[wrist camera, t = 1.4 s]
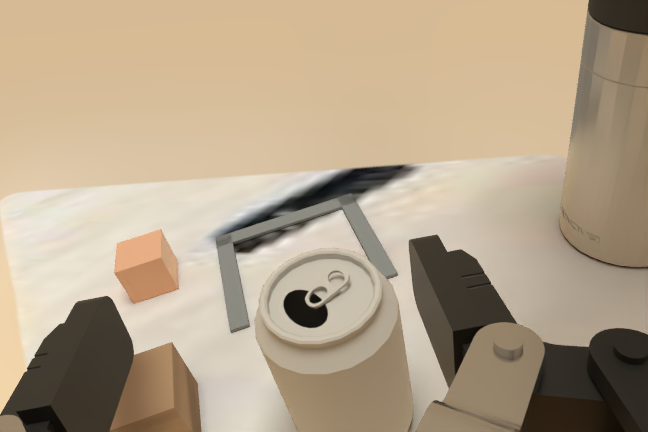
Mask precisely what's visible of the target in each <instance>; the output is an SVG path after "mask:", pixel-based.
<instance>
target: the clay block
mask: <svg viewBox="0 0 648 432" xmlns="http://www.w3.org/2000/svg"><path fill="white" fill-rule="evenodd" d="M114 273H115V275H116V276H117V278H118V279H119V281H120V283H121V284H122V286H123V287H124V289H125V290H126V292H127V293H128V295H129V296H130V298H131V299H132V301H133V303H134V304H135V303H138V302H141V301H144V300H147V299H150V298H153V297H156V296H159V295H162V294H165V293H168V292H171V291H174V290H177V289H179V288H178V269H177V259H176V257H175V255H174V254H173V252H172V250H171V248H170V246H169V244H168V242H167V240H166V238H165V236H164V235H163V233H162V231H161V229H160V230H157V231H154V232H151V233H148V234H145V235H142V236H139V237H136V238H132V239H129V240H126V241H123V242H120V243H117V249H116V259H115V270H114Z"/></svg>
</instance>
